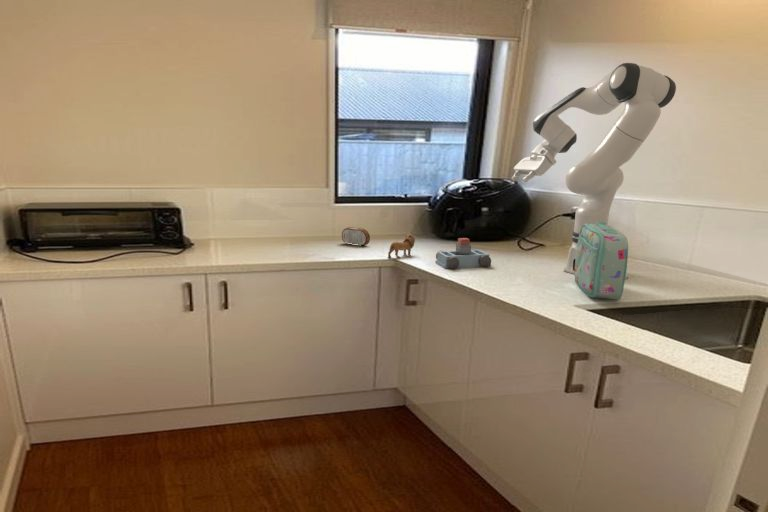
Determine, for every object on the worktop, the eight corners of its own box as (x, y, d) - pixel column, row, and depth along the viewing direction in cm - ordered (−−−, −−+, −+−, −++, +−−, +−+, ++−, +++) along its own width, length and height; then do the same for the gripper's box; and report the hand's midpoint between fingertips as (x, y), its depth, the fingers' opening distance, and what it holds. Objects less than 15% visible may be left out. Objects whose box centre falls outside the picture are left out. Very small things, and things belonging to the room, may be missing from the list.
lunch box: (569, 279, 163) (574, 217, 159) (600, 281, 162) (606, 218, 157) (588, 303, 137) (595, 230, 133) (626, 305, 136) (635, 230, 131)
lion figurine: (408, 253, 208) (409, 233, 206) (417, 255, 204) (418, 234, 202) (384, 258, 198) (384, 236, 196) (393, 260, 194) (393, 238, 192)
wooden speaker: (370, 246, 224) (370, 228, 222) (366, 247, 221) (366, 229, 220) (344, 243, 232) (344, 226, 230) (340, 244, 229) (340, 227, 227)
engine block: (470, 262, 185) (471, 239, 183) (459, 262, 184) (460, 239, 182) (466, 259, 189) (466, 237, 187) (455, 260, 188) (456, 238, 186)
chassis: (492, 266, 182) (493, 255, 181) (446, 269, 178) (446, 257, 177) (477, 259, 195) (478, 248, 194) (433, 261, 191) (434, 250, 190)
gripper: (524, 151, 210) (502, 174, 210) (549, 151, 191) (526, 176, 190) (532, 161, 212) (511, 184, 212) (558, 162, 193) (535, 187, 192)
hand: (518, 180), depth 201 cm, fingers open, 8 cm apart
